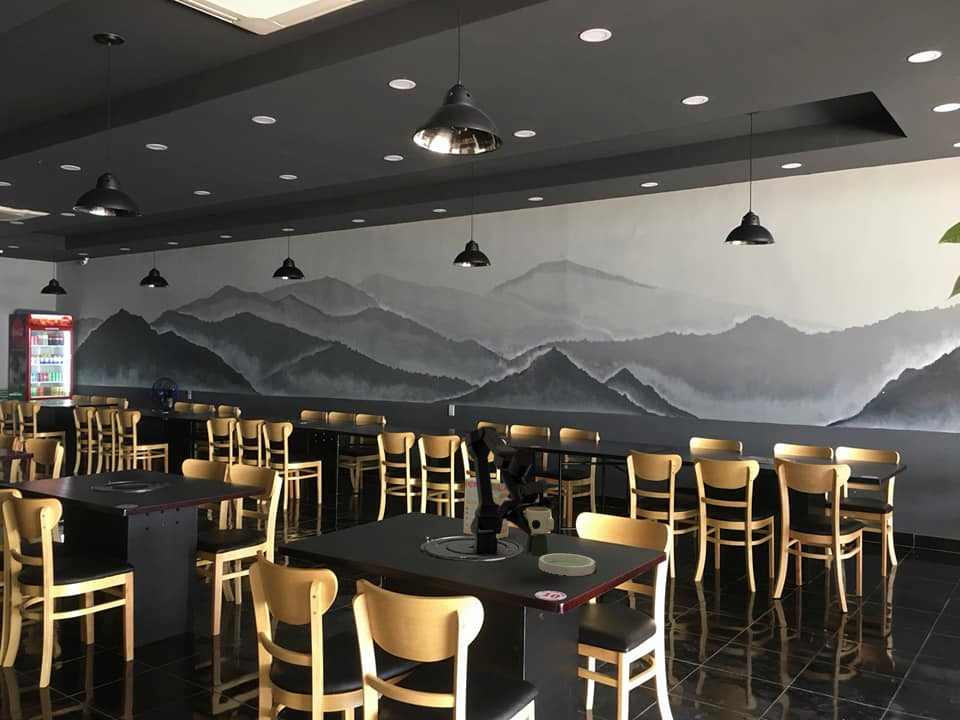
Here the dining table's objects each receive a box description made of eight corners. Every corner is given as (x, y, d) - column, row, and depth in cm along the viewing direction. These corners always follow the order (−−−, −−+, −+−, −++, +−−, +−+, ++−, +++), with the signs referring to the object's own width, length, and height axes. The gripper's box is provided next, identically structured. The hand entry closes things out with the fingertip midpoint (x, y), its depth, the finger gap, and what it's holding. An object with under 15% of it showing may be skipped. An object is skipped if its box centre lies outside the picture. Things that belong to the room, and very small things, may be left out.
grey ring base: (548, 576, 213) (549, 567, 213) (533, 562, 229) (533, 554, 229) (602, 575, 217) (602, 566, 217) (583, 561, 232) (583, 553, 232)
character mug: (513, 553, 212) (515, 507, 212) (529, 549, 217) (530, 504, 217) (544, 561, 204) (546, 513, 205) (559, 557, 210) (561, 510, 210)
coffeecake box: (508, 536, 264) (510, 480, 265) (497, 539, 259) (499, 482, 259) (474, 530, 273) (476, 476, 273) (462, 533, 267) (464, 478, 268)
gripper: (504, 471, 209) (528, 518, 200) (555, 468, 220) (580, 512, 211) (486, 495, 215) (509, 542, 206) (536, 491, 226) (560, 535, 217)
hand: (540, 532), depth 210 cm, fingers closed on character mug, 7 cm apart
